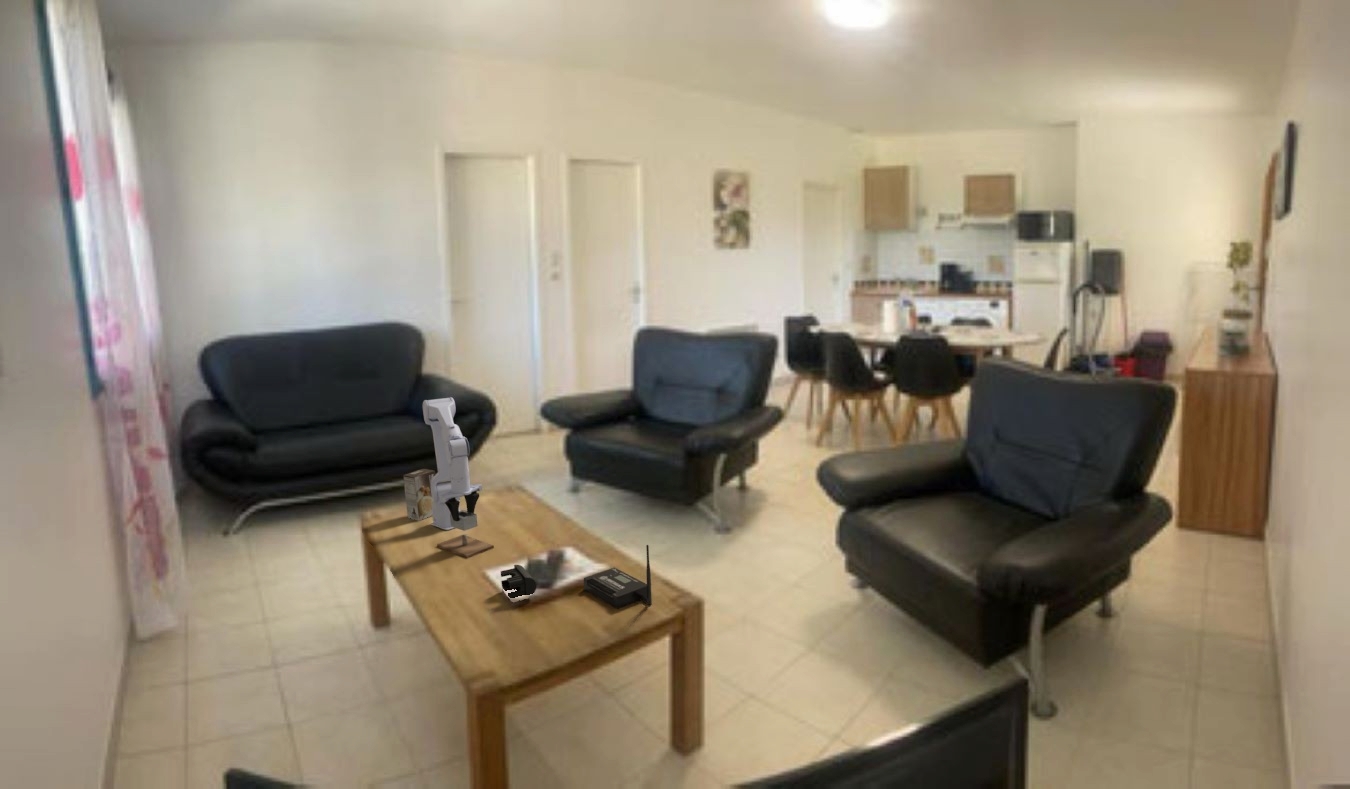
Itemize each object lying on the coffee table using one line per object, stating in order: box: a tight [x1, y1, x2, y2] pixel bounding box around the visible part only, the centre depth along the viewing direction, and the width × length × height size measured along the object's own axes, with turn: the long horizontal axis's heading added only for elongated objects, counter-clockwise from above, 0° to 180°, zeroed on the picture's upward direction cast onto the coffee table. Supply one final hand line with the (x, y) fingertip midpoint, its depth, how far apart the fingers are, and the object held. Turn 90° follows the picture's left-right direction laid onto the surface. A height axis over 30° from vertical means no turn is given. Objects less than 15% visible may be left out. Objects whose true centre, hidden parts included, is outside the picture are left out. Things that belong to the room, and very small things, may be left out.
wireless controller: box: [583, 544, 653, 610], centre depth 214 cm, size 20×14×17 cm
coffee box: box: [402, 468, 436, 522], centre depth 282 cm, size 9×6×16 cm
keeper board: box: [436, 533, 495, 559], centre depth 253 cm, size 16×10×4 cm, turn 50°
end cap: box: [500, 564, 537, 598], centre depth 218 cm, size 10×7×7 cm
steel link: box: [450, 509, 478, 532], centre depth 252 cm, size 7×5×4 cm
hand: (463, 518), depth 252 cm, fingers closed on steel link, 5 cm apart
